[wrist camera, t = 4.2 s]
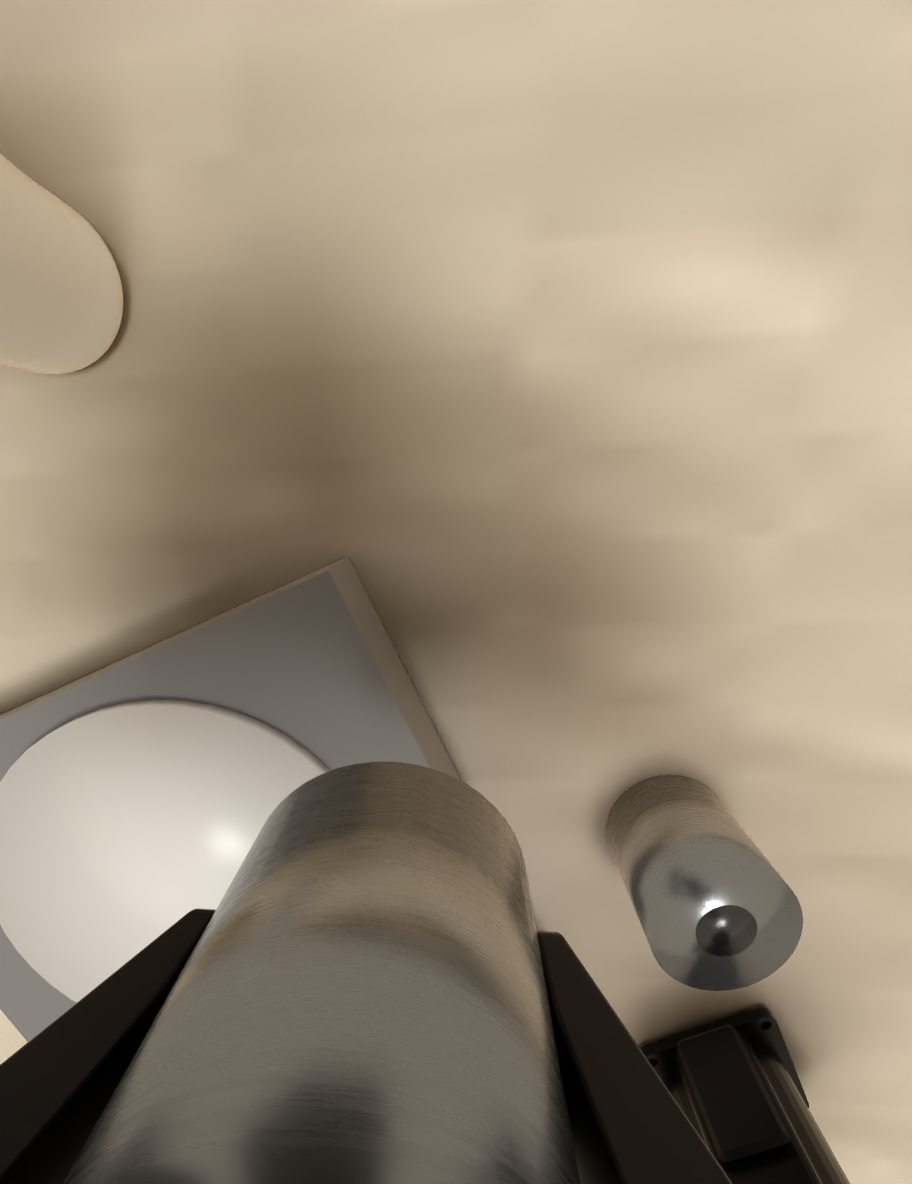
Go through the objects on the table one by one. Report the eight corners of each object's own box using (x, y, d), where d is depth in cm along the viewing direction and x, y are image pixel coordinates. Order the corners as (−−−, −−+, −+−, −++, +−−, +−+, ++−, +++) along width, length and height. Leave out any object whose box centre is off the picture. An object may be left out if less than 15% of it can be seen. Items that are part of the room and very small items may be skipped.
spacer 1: (512, 1002, 10) (569, 1551, 5) (252, 986, 10) (34, 1526, 5) (540, 771, 9) (655, 1173, 4) (247, 751, 8) (-47, 1132, 4)
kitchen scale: (547, 952, 23) (581, 1130, 17) (171, 1086, 25) (75, 1291, 18) (348, 555, 19) (294, 594, 12) (-84, 753, 21) (-318, 872, 14)
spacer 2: (738, 852, 22) (820, 962, 17) (629, 891, 22) (678, 1010, 17) (702, 757, 21) (779, 845, 16) (589, 800, 21) (629, 900, 16)
